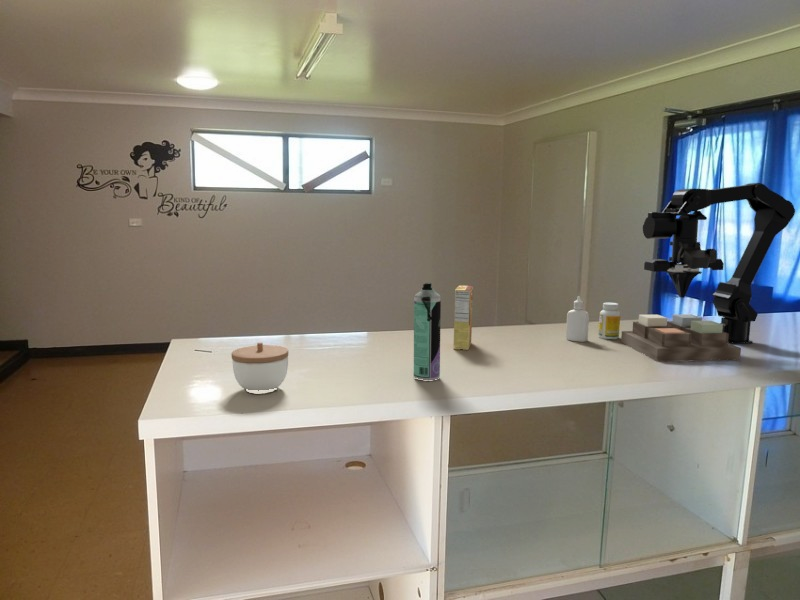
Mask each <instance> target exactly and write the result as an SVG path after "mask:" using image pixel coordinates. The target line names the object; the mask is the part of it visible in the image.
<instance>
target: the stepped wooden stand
mask: <svg viewBox="0 0 800 600" xmlns="http://www.w3.org/2000/svg"><path fill="white" fill-rule="evenodd" d="M655 328H675V329H678V330H680V331H683V332H685V333H671V334H664V333H661V332H659V331H657V330H655ZM728 336H729V334H728V333H726V332H723V331H722V333H699V332H696V331H694V330H691V326H680V325H677V324H675V323H672V320H670V321H668V320H667V326H645V325H642V324H640V323H639V320H638V321H637V320H635V321H632V330H628V331H627V330H622V331H621V338H620V342H621V344H624V345H625V344H626V346H627V345H628V347H629V346H630V347H629V348H631V347H632V348H631V349H633V348H634V349H633V350H635V351H637V352H639V353H640V352H641V354H642V353H643V355H644V354H645V355H644V356H646V357H648V358H650V359H652V360H654V361H655V362H683V361H684V362H687V361H688V362H689V361H690V362H691V361H692V362H694V361H696V362H697V361H698V362H699V361H702V362H703V361H705V362H706V361H710V362H711V361H712V362H714V361H717V362H718V361H741V351H742V347H740V346H737V345H735V344H733V343H728Z"/></svg>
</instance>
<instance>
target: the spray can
mask: <svg viewBox="0 0 800 600" xmlns="http://www.w3.org/2000/svg"><path fill="white" fill-rule="evenodd" d="M441 301H442V299H441V294H439V293H438V292H436V291H435V289H434V288H433V285H432V283H431V282H426V283H423V284H422V288H421V289H420V291H418V292H417V293H416V294H414V298H413V378H414V377H415V378H418V379H423V380H435V379H438V378H439V377H440V376H441V374H440V373H441V314H442V313H441V312H442V311H441V307H442V305H441V304H442V303H441ZM440 378H441V377H440ZM440 378H439V379H440Z"/></svg>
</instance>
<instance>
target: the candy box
mask: <svg viewBox="0 0 800 600" xmlns="http://www.w3.org/2000/svg"><path fill="white" fill-rule="evenodd" d="M473 298H474V286H472V285H458V286H456V288H455V290H454V314H453V316H454V317H453V318H454V320H453V350H460V349H463V350H465V351H468V350H469V349H470V347H471V344H472V331H473V329H472V328H473V307H474V306H473V305H474V304H473V301H474V299H473Z"/></svg>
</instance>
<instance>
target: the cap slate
mask: <svg viewBox="0 0 800 600" xmlns="http://www.w3.org/2000/svg"><path fill="white" fill-rule="evenodd" d="M671 321H672V323H675V324H677V325H680V326H691V321H703V317H701V316H698V315H695V314H691V313H690V314H689V313H688V314H685V313H684V314H683V313H682V314H672V319H671Z"/></svg>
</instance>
